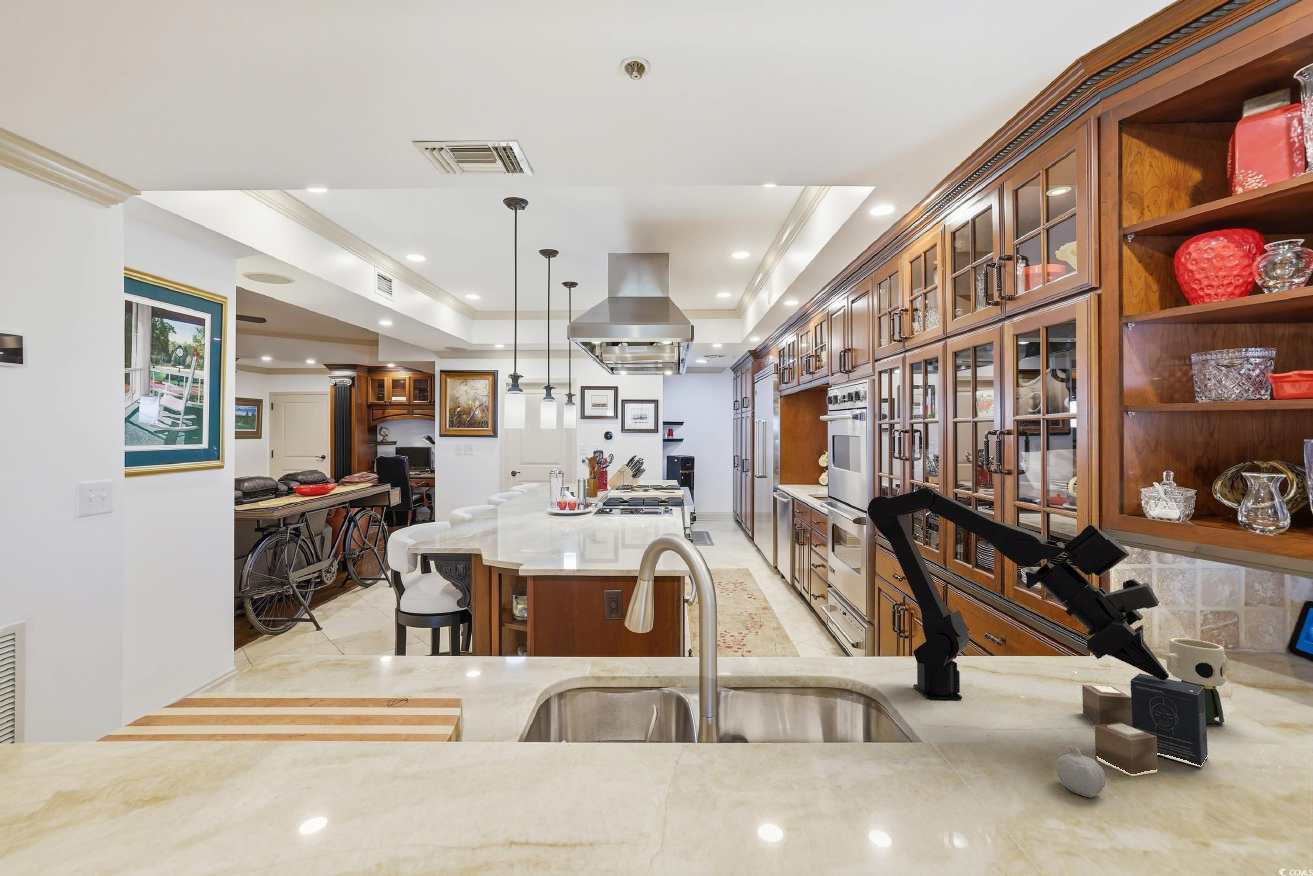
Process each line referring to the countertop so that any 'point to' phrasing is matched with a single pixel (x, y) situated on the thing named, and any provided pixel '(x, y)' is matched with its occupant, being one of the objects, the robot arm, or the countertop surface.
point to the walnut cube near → (1126, 747)
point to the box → (1171, 716)
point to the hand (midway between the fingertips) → (1166, 678)
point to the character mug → (1200, 670)
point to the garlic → (1080, 773)
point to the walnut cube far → (1106, 705)
